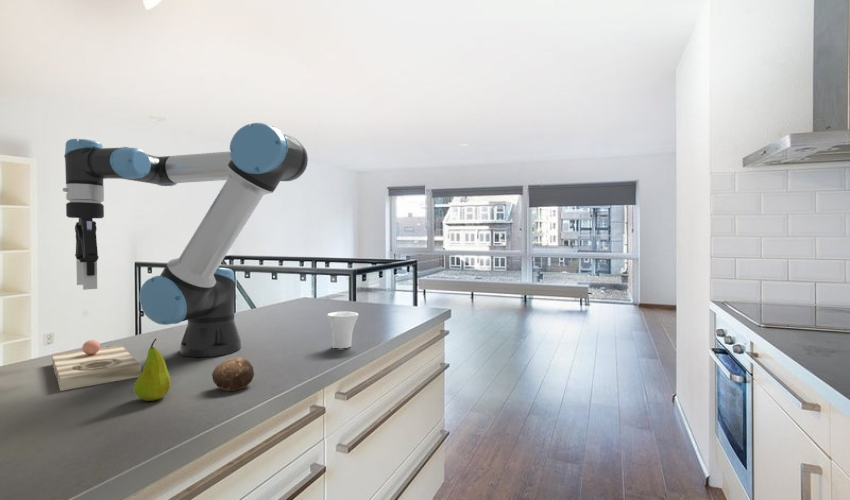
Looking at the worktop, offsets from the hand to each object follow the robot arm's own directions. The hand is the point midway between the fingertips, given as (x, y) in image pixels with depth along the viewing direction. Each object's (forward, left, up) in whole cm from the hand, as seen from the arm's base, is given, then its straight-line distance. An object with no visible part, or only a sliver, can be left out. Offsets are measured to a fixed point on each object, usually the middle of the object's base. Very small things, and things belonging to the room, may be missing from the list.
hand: (86, 286), depth 111 cm
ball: (-5, +5, -14) cm, 16 cm away
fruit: (-34, +25, -19) cm, 46 cm away
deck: (-9, +9, -18) cm, 22 cm away
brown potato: (-46, +17, -19) cm, 53 cm away
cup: (-62, -18, -19) cm, 67 cm away
